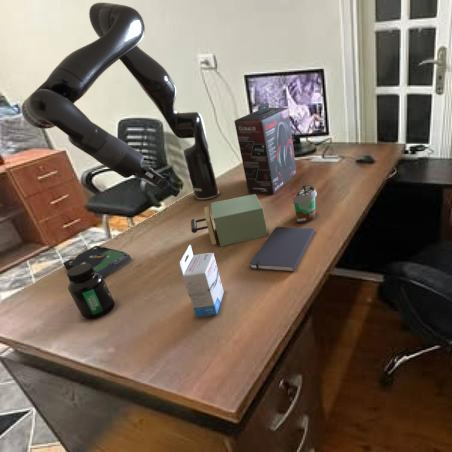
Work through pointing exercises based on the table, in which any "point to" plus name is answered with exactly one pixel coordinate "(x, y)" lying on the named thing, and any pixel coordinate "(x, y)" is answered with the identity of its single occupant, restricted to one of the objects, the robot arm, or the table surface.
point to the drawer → (209, 226)
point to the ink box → (202, 282)
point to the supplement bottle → (89, 292)
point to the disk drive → (100, 260)
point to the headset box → (266, 148)
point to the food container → (305, 204)
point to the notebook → (282, 249)
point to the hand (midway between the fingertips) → (172, 191)
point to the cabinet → (238, 219)
